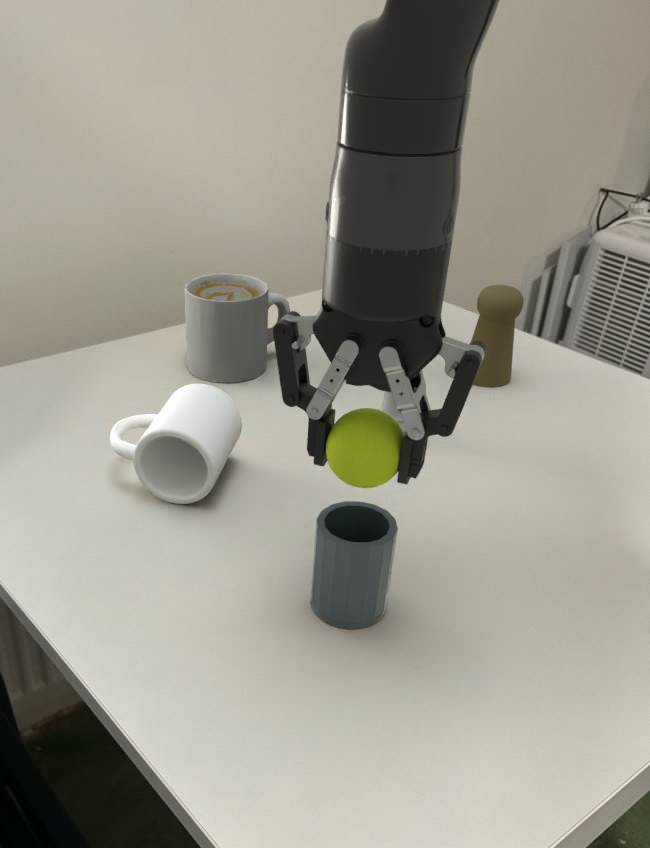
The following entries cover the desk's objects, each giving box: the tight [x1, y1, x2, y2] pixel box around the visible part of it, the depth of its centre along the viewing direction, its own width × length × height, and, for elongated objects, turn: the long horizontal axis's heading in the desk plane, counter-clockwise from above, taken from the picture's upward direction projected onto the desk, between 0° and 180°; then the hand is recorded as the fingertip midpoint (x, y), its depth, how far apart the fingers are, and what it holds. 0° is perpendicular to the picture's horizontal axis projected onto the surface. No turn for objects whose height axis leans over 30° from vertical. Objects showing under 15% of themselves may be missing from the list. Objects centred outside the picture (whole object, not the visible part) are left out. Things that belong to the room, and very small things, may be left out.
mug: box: [109, 382, 243, 505], centre depth 80 cm, size 12×10×8 cm
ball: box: [326, 407, 404, 489], centre depth 58 cm, size 6×6×6 cm
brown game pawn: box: [470, 284, 524, 388], centre depth 98 cm, size 6×6×11 cm
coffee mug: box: [184, 272, 291, 384], centre depth 101 cm, size 13×10×10 cm
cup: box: [310, 500, 399, 630], centre depth 64 cm, size 6×6×8 cm
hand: (362, 468), depth 59 cm, fingers closed on ball, 5 cm apart
